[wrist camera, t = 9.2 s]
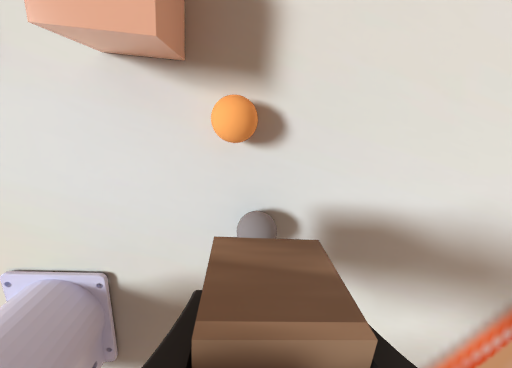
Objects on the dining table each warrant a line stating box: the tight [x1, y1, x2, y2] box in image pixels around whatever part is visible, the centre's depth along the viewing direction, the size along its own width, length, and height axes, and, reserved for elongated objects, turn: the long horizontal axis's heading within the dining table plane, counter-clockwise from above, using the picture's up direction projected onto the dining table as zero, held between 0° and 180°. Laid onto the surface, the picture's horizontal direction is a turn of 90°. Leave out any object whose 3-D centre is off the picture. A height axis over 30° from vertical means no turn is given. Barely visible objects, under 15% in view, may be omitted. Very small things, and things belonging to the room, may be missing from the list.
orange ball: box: [211, 95, 258, 143], centre depth 15 cm, size 3×3×3 cm
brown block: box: [192, 237, 378, 368], centre depth 10 cm, size 5×5×6 cm
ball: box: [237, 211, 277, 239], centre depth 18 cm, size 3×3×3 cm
